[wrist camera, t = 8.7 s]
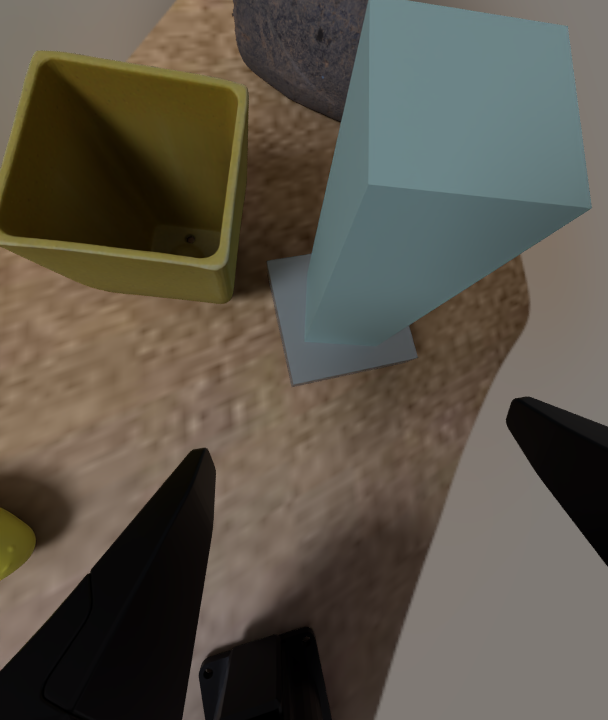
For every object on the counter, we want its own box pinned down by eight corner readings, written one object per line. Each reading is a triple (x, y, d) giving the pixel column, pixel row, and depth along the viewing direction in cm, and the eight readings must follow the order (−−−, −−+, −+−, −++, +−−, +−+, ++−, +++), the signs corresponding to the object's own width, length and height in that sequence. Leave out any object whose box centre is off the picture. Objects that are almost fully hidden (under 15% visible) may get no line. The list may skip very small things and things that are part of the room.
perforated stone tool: (429, 128, 24) (489, 19, 18) (403, 177, 23) (455, 81, 17) (267, 41, 24) (263, -103, 18) (234, 86, 23) (217, -48, 17)
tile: (404, 362, 21) (417, 357, 19) (291, 387, 20) (293, 384, 18) (375, 256, 22) (385, 241, 20) (267, 274, 21) (266, 261, 19)
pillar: (376, 346, 19) (591, 208, 6) (304, 341, 18) (368, 184, 6) (376, 278, 19) (567, 25, 7) (307, 272, 19) (369, -7, 6)
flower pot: (261, 213, 22) (250, 78, 13) (248, 330, 20) (226, 268, 11) (135, 198, 21) (32, 44, 12) (112, 317, 20) (-24, 240, 11)
